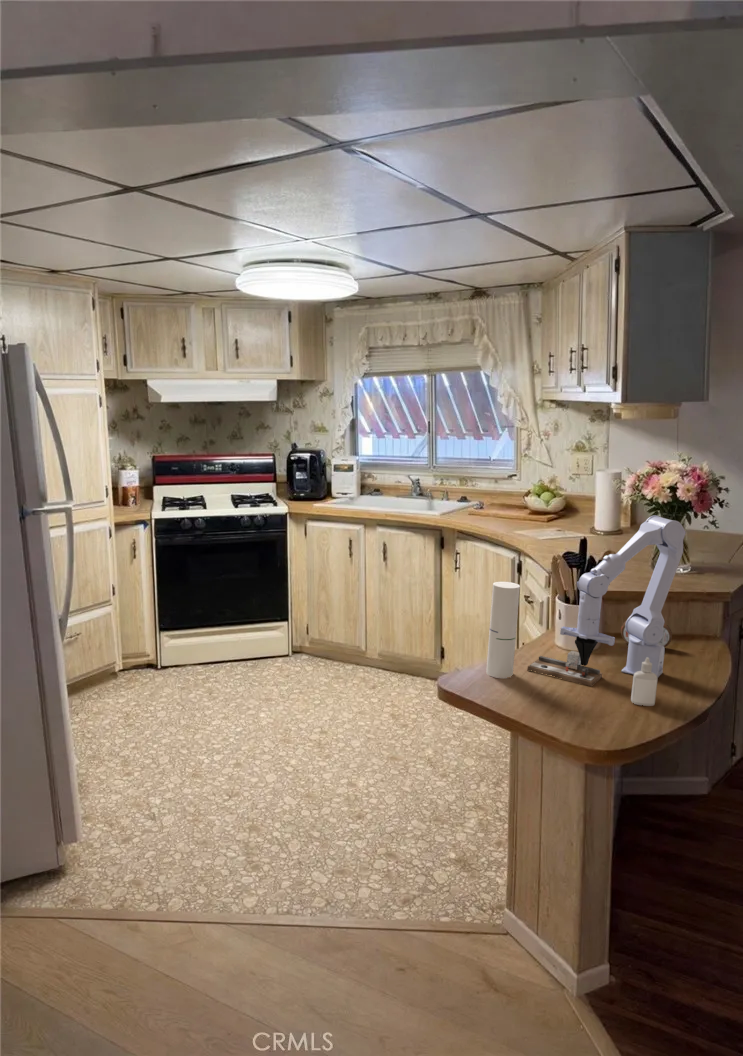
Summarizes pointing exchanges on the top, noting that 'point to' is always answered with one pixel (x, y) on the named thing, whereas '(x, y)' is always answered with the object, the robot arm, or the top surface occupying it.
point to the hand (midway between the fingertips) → (584, 664)
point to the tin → (663, 642)
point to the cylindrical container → (502, 629)
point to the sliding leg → (573, 660)
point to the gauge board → (559, 670)
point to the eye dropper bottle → (644, 685)
